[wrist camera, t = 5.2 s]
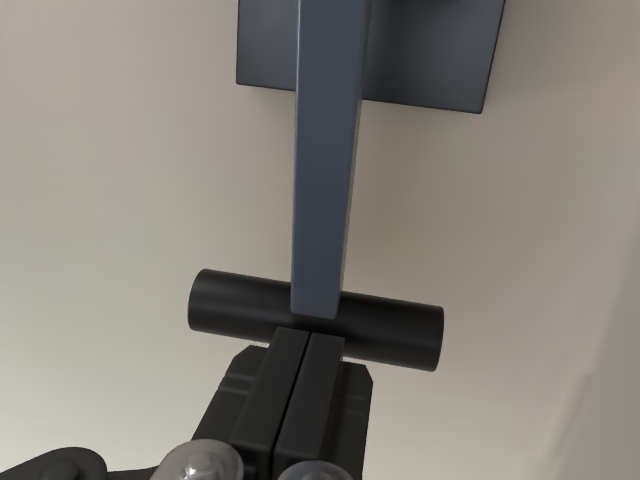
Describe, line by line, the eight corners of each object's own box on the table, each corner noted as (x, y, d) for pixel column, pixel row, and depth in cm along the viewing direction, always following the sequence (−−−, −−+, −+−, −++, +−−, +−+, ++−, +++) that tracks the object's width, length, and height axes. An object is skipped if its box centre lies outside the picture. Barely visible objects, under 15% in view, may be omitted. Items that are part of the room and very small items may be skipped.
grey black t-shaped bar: (433, 325, 15) (431, 400, 13) (216, 289, 15) (184, 356, 13) (602, -325, 7) (658, -371, 5) (157, -341, 8) (66, -388, 6)
